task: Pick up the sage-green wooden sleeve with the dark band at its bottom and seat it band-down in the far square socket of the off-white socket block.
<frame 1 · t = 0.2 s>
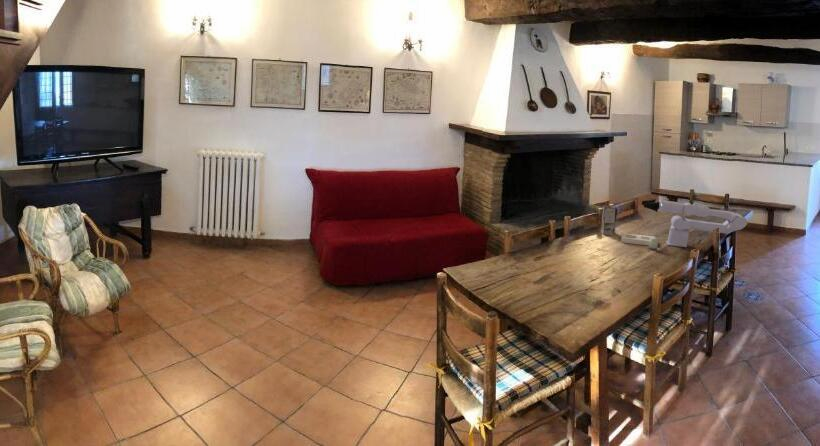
hand: (642, 203, 281), 21 cm above the table, tool horizontal, fingers open, 7 cm apart
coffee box: (606, 233, 299), on the table
sleeve: (652, 249, 271), on the table
socket block: (638, 241, 284), on the table
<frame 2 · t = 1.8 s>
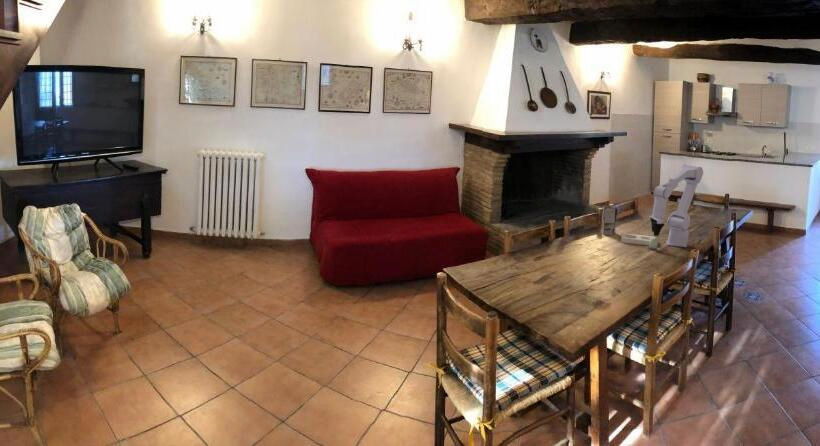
hand: (655, 233, 269), 9 cm above the table, tool pointing down, fingers open, 7 cm apart
nothing on the table moved.
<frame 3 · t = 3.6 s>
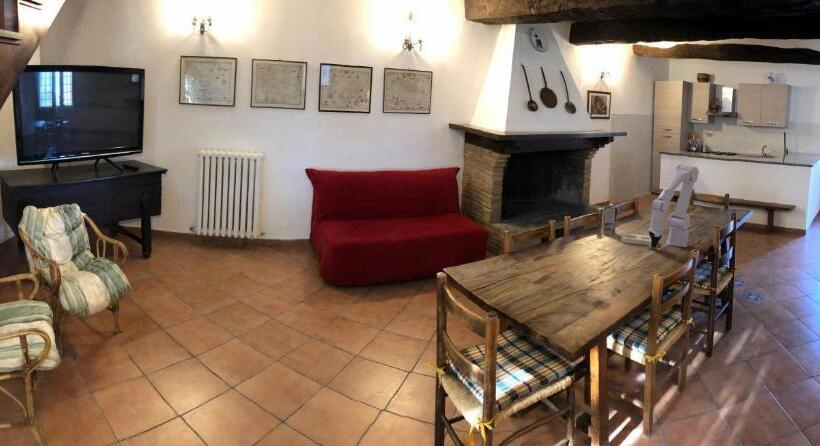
hand: (653, 246, 271), 2 cm above the table, tool pointing down, fingers closed on sleeve, 4 cm apart
sleeve: (652, 249, 271), on the table, touching gripper
everything else where it was.
when the fingers open (3 cm above the table, at t = 7.3 s): sleeve drops 2 cm, resting in socket block.
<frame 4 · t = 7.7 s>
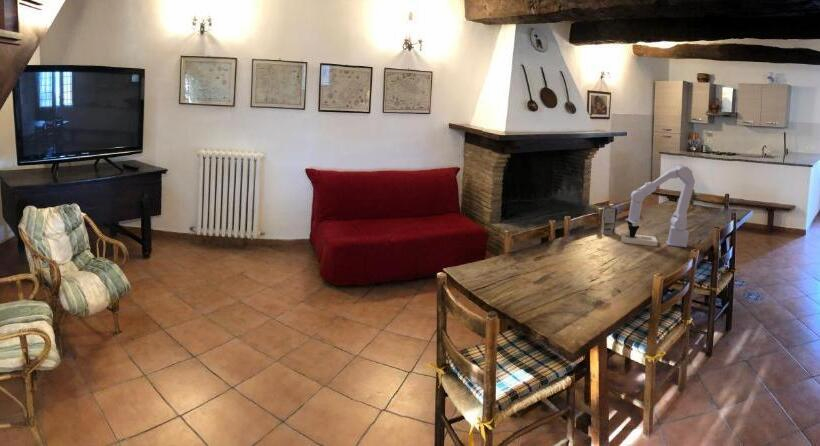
hand: (631, 235, 284), 3 cm above the table, tool pointing down, fingers open, 7 cm apart
sleeve: (630, 240, 285), resting in socket block
everything else where it was.
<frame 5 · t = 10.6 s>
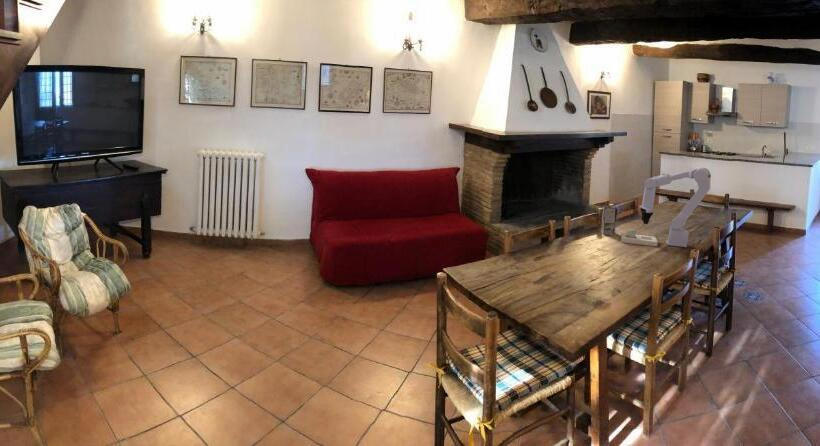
hand: (644, 222, 289), 9 cm above the table, tool pointing down, fingers open, 7 cm apart
nothing on the table moved.
at the end: sleeve 0.0 cm from the target spot on the socket block, point 0.0 cm above the socket block's base; sleeve tilted 0°; the gripper is holding nothing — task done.
